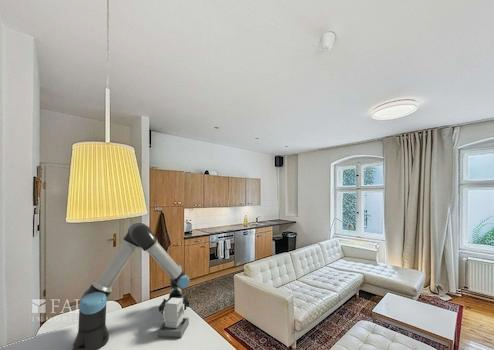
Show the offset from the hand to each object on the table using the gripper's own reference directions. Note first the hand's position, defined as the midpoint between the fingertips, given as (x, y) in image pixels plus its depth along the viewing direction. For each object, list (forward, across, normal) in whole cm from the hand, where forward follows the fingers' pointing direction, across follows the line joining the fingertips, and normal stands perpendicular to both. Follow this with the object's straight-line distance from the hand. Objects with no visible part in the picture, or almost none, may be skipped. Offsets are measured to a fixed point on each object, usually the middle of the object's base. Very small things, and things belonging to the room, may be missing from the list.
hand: (173, 313), depth 121 cm
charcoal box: (-4, 0, -11) cm, 12 cm away
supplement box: (-5, 0, -8) cm, 9 cm away
